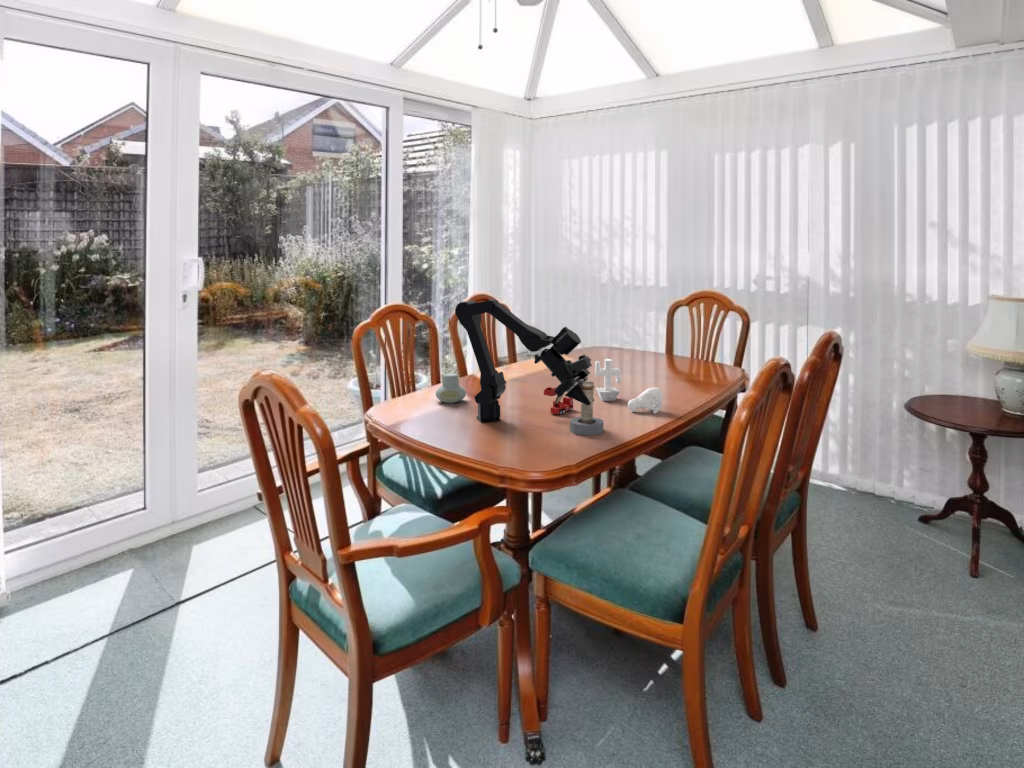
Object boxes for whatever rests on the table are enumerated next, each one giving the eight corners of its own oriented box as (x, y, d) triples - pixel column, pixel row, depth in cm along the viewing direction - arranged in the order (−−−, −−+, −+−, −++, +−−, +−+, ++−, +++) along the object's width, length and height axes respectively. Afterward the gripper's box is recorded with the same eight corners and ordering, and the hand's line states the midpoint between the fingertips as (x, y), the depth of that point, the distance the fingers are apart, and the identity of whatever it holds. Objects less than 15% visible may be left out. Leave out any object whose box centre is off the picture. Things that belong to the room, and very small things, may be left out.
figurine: (622, 401, 233) (623, 360, 230) (596, 402, 232) (597, 361, 229) (617, 396, 240) (618, 357, 237) (592, 397, 239) (593, 357, 236)
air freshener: (434, 404, 230) (433, 377, 228) (437, 398, 238) (436, 372, 236) (465, 404, 230) (464, 376, 228) (466, 398, 238) (466, 372, 236)
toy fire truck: (574, 409, 222) (575, 382, 220) (551, 418, 212) (551, 389, 209) (566, 408, 224) (566, 381, 222) (543, 416, 214) (543, 388, 212)
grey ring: (578, 436, 191) (578, 426, 191) (565, 427, 200) (565, 418, 200) (608, 433, 194) (609, 423, 194) (594, 424, 204) (594, 415, 203)
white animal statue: (663, 389, 214) (629, 392, 214) (664, 413, 216) (630, 416, 216) (658, 385, 220) (625, 388, 220) (660, 408, 222) (626, 412, 222)
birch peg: (587, 426, 194) (588, 384, 191) (577, 423, 197) (578, 381, 194) (595, 423, 197) (596, 382, 194) (586, 421, 200) (587, 380, 197)
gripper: (566, 352, 185) (602, 393, 183) (584, 343, 202) (617, 380, 200) (540, 376, 190) (575, 416, 188) (560, 365, 206) (592, 402, 205)
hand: (591, 403), depth 195 cm, fingers closed on birch peg, 4 cm apart
